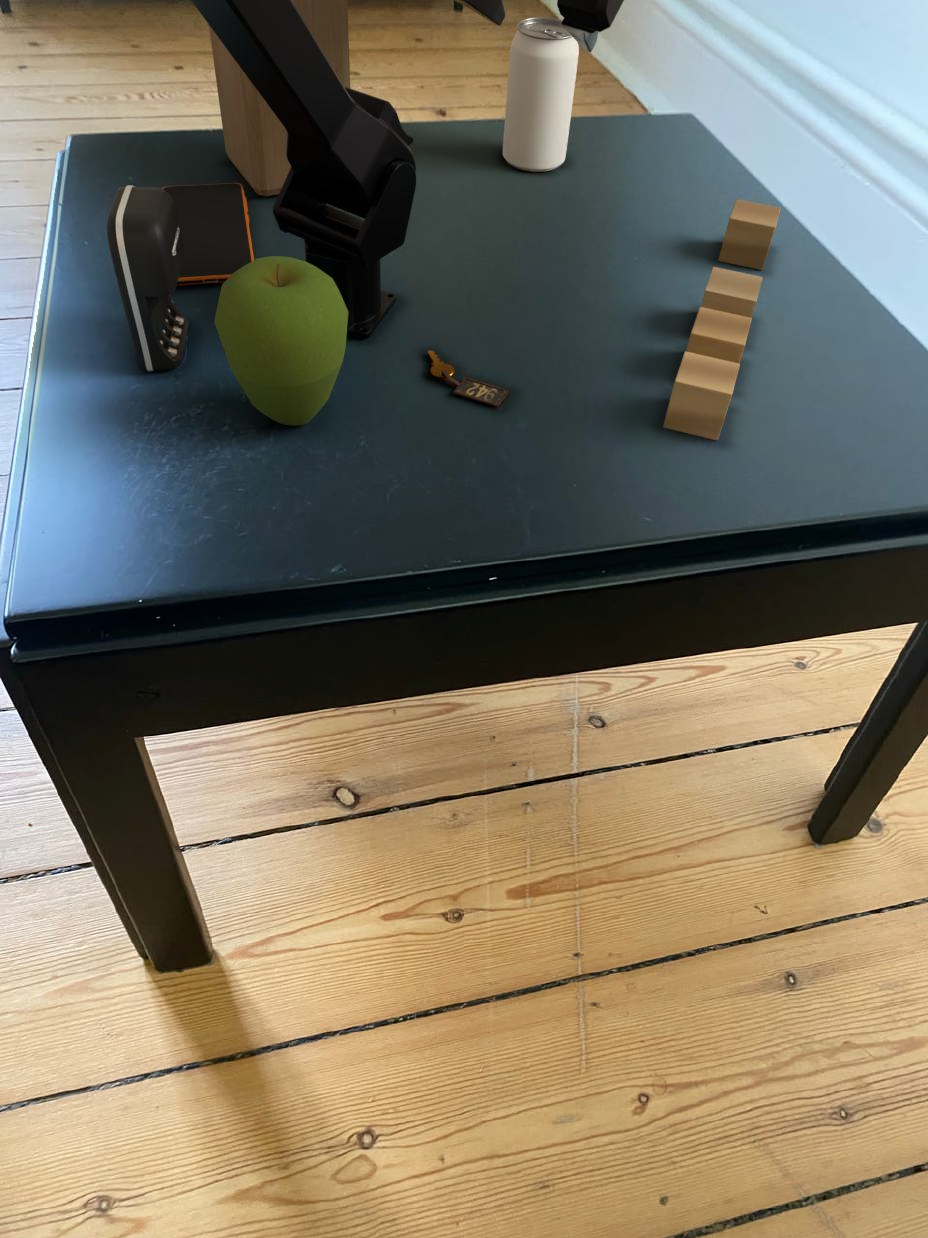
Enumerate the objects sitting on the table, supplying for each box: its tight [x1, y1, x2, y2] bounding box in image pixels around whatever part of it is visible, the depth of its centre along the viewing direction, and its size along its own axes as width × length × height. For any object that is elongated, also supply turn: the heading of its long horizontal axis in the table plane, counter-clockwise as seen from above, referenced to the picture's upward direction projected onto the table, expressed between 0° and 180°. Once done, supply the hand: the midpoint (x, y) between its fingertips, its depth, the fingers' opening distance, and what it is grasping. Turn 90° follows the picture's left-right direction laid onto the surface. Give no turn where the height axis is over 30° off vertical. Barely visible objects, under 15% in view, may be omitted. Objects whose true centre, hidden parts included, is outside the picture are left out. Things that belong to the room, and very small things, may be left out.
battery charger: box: [106, 184, 190, 372], centre depth 68 cm, size 7×4×11 cm, turn 4°
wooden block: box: [208, 0, 351, 197], centre depth 85 cm, size 10×10×20 cm
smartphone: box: [161, 182, 255, 286], centre depth 83 cm, size 8×17×1 cm, turn 12°
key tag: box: [427, 350, 510, 408], centre depth 71 cm, size 8×3×1 cm, turn 51°
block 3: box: [685, 306, 753, 364], centre depth 72 cm, size 4×4×4 cm
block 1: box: [717, 198, 781, 271], centre depth 85 cm, size 4×4×4 cm
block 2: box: [700, 266, 764, 319], centre depth 76 cm, size 4×4×4 cm
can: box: [502, 16, 580, 173], centre depth 93 cm, size 6×6×12 cm
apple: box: [213, 255, 348, 427], centre depth 63 cm, size 9×8×12 cm
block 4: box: [662, 351, 741, 441], centre depth 68 cm, size 4×4×4 cm
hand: (545, 33), depth 82 cm, fingers open, 9 cm apart
